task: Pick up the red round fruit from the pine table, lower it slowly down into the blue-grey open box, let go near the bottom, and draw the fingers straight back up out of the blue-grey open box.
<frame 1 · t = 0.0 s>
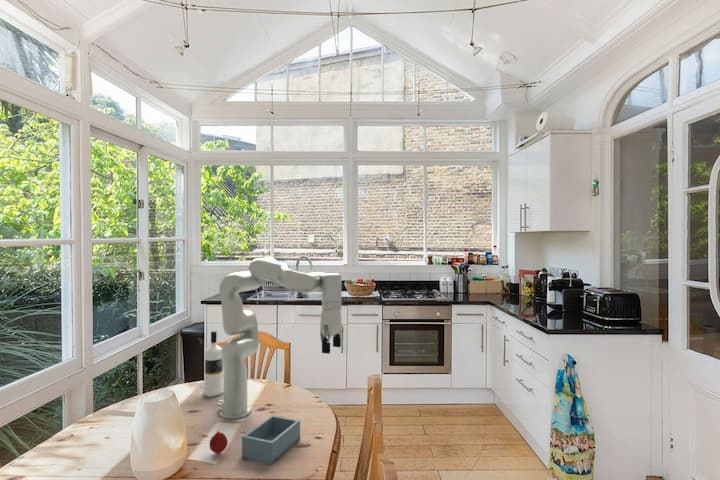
hand: (331, 349, 153), 31 cm above the table, tool pointing down, fingers open, 9 cm apart
vodka: (213, 394, 191), on the table
red round fruit: (218, 454, 137), on the table
blue-grey open box: (272, 448, 140), on the table
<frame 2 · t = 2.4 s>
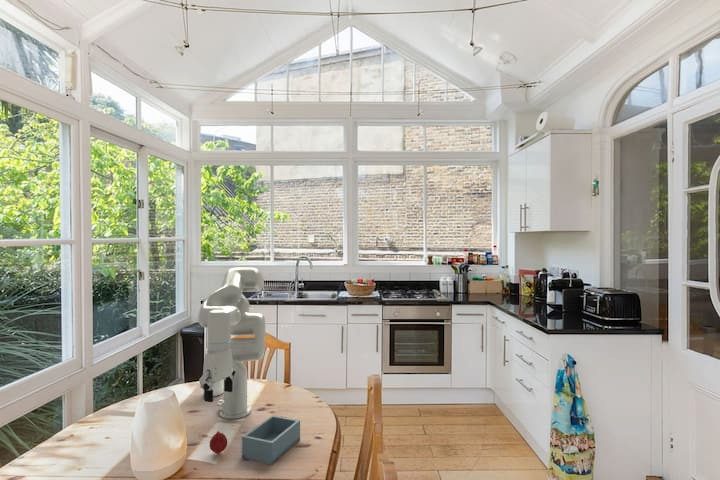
hand: (218, 396, 137), 20 cm above the table, tool pointing down, fingers open, 9 cm apart
nothing on the table moved.
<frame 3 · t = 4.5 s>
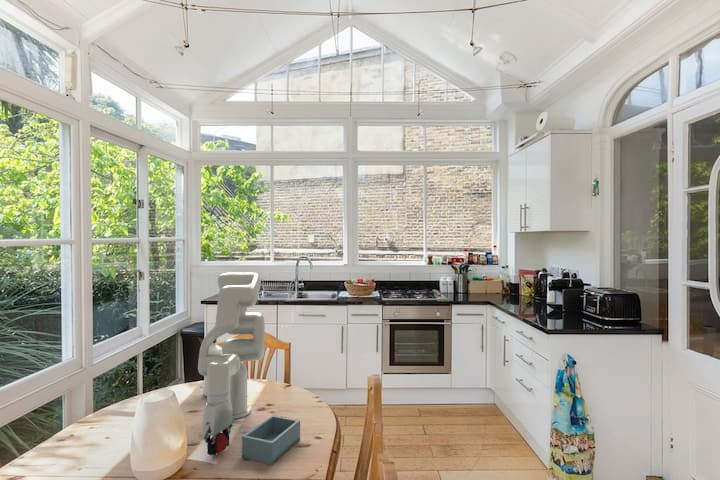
hand: (218, 449, 137), 2 cm above the table, tool pointing down, fingers closed on red round fruit, 5 cm apart
red round fruit: (218, 454, 137), on the table, touching gripper
everything else where it was.
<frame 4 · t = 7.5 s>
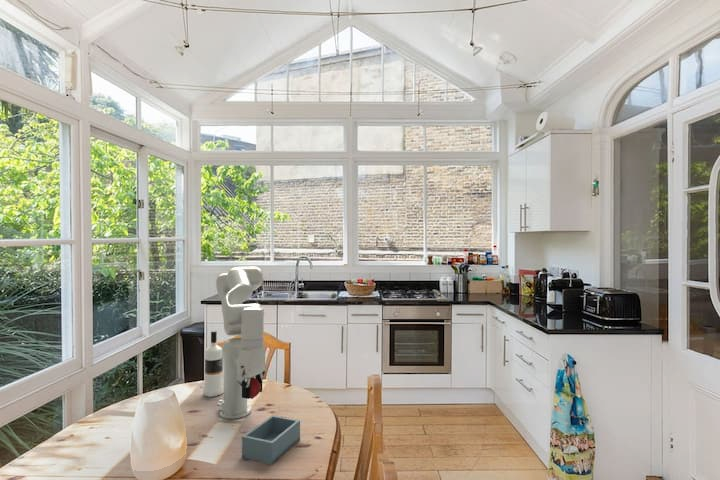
hand: (252, 394, 139), 19 cm above the table, tool pointing down, fingers closed on red round fruit, 5 cm apart
red round fruit: (252, 399, 139), point 18 cm above the table, touching gripper
everything else where it was.
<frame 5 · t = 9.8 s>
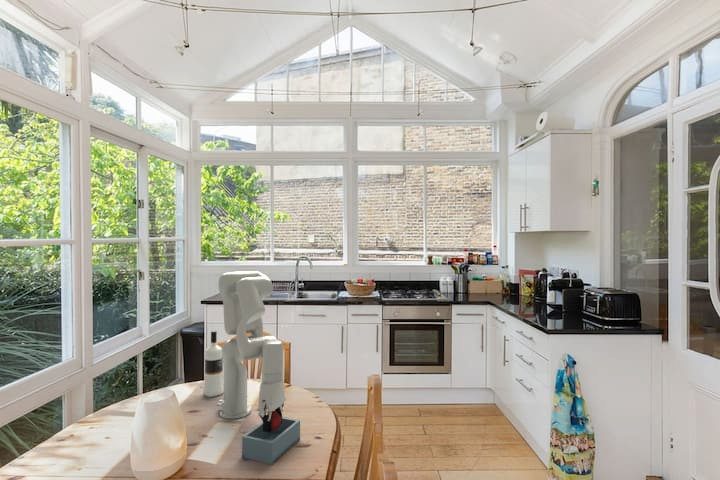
hand: (272, 427, 140), 7 cm above the table, tool pointing down, fingers closed on red round fruit, 5 cm apart
red round fruit: (272, 432, 140), point 6 cm above the table, touching gripper
everything else where it was.
when the fingers open (4 cm above the table, at t = 10.8 s): red round fruit drops 2 cm, resting on blue-grey open box.
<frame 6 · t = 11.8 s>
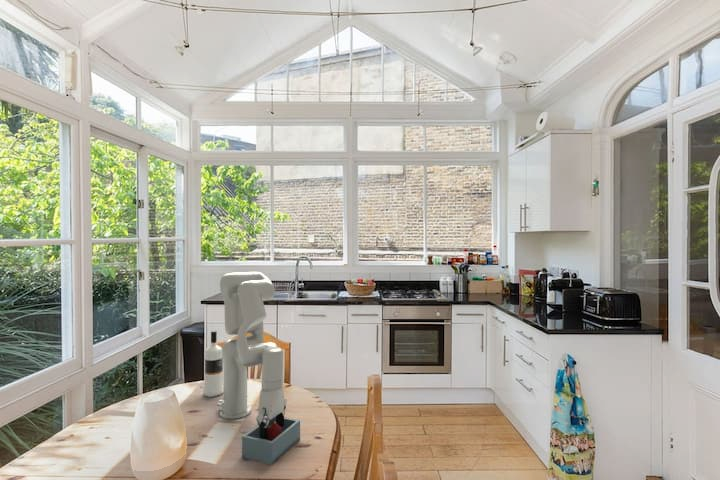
hand: (272, 431, 141), 6 cm above the table, tool pointing down, fingers open, 9 cm apart
red round fruit: (272, 445, 141), point 1 cm above the table, touching blue-grey open box
everything else where it was.
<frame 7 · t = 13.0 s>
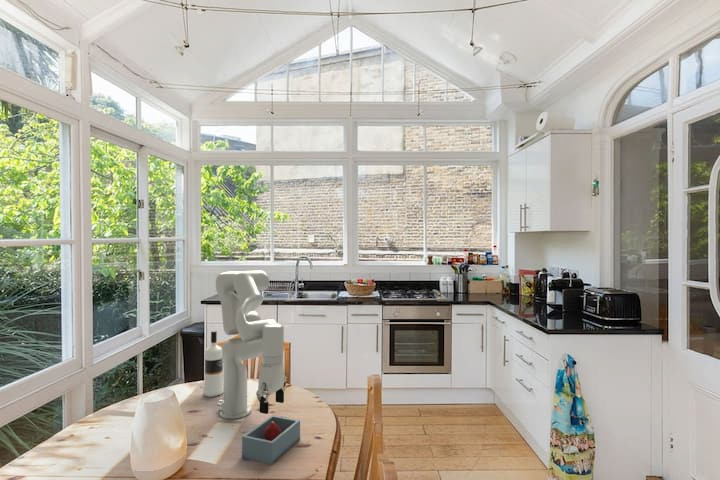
hand: (272, 407, 141), 14 cm above the table, tool pointing down, fingers open, 9 cm apart
nothing on the table moved.
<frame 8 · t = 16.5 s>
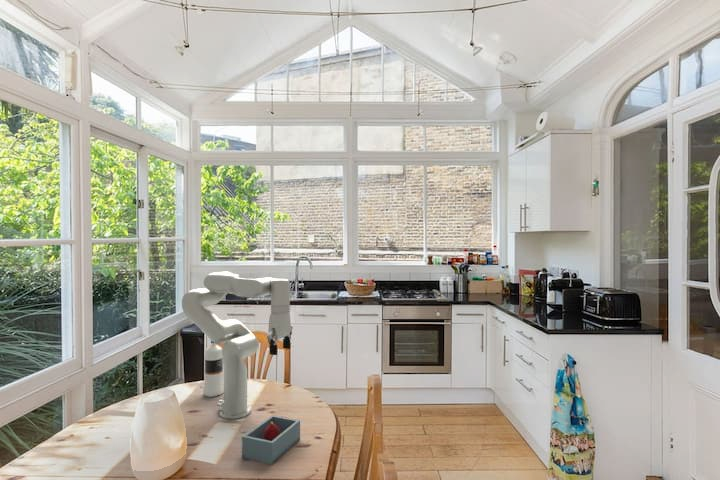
hand: (280, 351, 162), 28 cm above the table, tool pointing down, fingers open, 9 cm apart
nothing on the table moved.
at the end: red round fruit inside the target area on the blue-grey open box (0.1 cm from its centre), point 0.8 cm above the blue-grey open box's base; the gripper is holding nothing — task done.
